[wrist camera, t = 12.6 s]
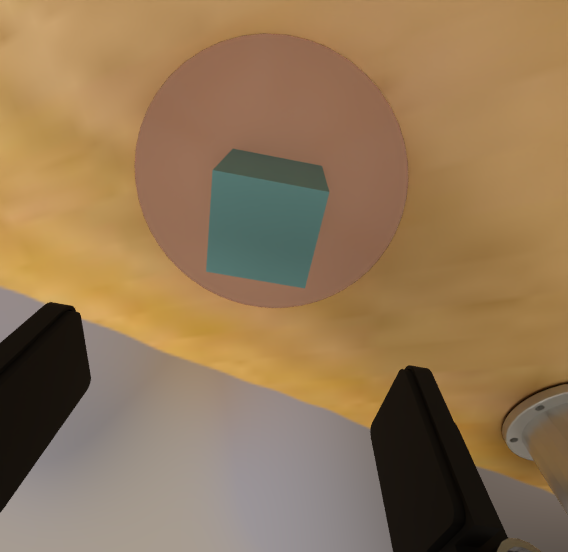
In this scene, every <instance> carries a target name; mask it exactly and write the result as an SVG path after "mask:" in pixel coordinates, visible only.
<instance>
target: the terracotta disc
mask: <svg viewBox="0 0 568 552" xmlns="http://www.w3.org/2000/svg"><path fill="white" fill-rule="evenodd" d="M232 149H238V150H243V151H248V152H253V153H258V154H263V155H269V156H274V157H279V158H284V159H289V160H294V161H300V162H305V163H310V164H315V165H320V166H322V168H323V171H324V175H325V178H326V182H327V185H328V189H329V196H328V200H327V204H326V208H325V212H324V216H323V220H322V224H321V227H320V231H319V235H318V239H317V243H316V247H315V251H314V255H313V259H312V263H311V267H310V271H309V275H308V279H307V283H306V287H305V288H299V287H293V286H287V285H281V284H276V283H270V282H264V281H258V280H252V279H246V278H240V277H234V276H229V275H223V274H217V273H211V272H206V265H207V249H208V234H209V218H210V202H211V187H212V171H213V169H214V168H215V167H216V166H217V165H218V164H219V163H220V162H221V161H222V160H223V158H224V157H225V156H226V155H227V154H228V153H229V152H230V151H231V150H232ZM135 180H136V187H137V193H138V198H139V202H140V205H141V209H142V212H143V215H144V218H145V220H146V222H147V224H148V226H149V229H150V231H151V233H152V234H153V236H154V238H155V239H156V241H157V243H158V244H159V246H160V247H161V249H162V250H163V251H164V252H165V254H166V255H167V256H168V258H169V259H170V260H171V261H172V262H173V263H174V264H175V265H176V266H177V267H178V268H179V269H180V270H181V271H182V272H183V273H184V274H186V275H187V276H188V277H189V278H190V279H192V280H193V281H195V282H196V283H197V284H199V285H200V286H202V287H203V288H205V289H207V290H209V291H211V292H213V293H215V294H217V295H219V296H221V297H224V298H226V299H229V300H231V301H235V302H238V303H242V304H245V305H251V306H257V307H268V308H283V307H294V306H301V305H305V304H309V303H313V302H317V301H319V300H322V299H325V298H327V297H330V296H332V295H334V294H336V293H338V292H340V291H342V290H344V289H345V288H347V287H348V286H350V285H351V284H353V283H354V282H356V281H357V280H358V279H359V278H360V277H362V276H363V275H364V274H365V273H366V272H367V271H368V270H369V269H370V268H371V267H372V266H373V265H374V264H375V263H376V262H377V261H378V260H379V258H380V257H381V255H382V254H383V253H384V251H385V250H386V248H387V247H388V245H389V244H390V242H391V240H392V238H393V236H394V234H395V233H396V230H397V228H398V225H399V223H400V220H401V218H402V214H403V210H404V206H405V202H406V197H407V188H408V160H407V154H406V148H405V143H404V139H403V136H402V133H401V129H400V126H399V124H398V121H397V119H396V117H395V115H394V113H393V111H392V109H391V107H390V105H389V103H388V102H387V100H386V99H385V97H384V96H383V94H382V93H381V91H380V90H379V89H378V87H377V86H376V85H375V84H374V83H373V82H372V81H371V80H370V78H369V77H368V76H367V75H366V74H365V73H364V72H363V71H362V70H360V69H359V68H358V67H357V66H355V65H354V64H353V63H352V62H351V61H349V60H348V59H347V58H345V57H343V56H342V55H340V54H338V53H336V52H335V51H333V50H331V49H330V48H328V47H325V46H323V45H320V44H318V43H315V42H313V41H310V40H307V39H303V38H298V37H294V36H289V35H280V34H256V35H246V36H240V37H236V38H233V39H229V40H226V41H222V42H220V43H217V44H215V45H213V46H211V47H209V48H206V49H204V50H202V51H201V52H199V53H198V54H196V55H195V56H193V57H192V58H190V59H189V60H187V61H186V62H184V63H183V64H182V65H181V66H180V67H179V68H178V69H177V70H176V71H175V72H174V73H172V74H171V75H170V76H169V78H168V79H167V80H166V81H165V83H164V84H163V85H162V86H161V88H160V89H159V90H158V92H157V93H156V95H155V97H154V98H153V100H152V102H151V104H150V106H149V107H148V109H147V112H146V114H145V117H144V119H143V122H142V125H141V127H140V132H139V136H138V141H137V145H136V155H135Z"/></svg>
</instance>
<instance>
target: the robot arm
mask: <svg viewBox="0 0 568 552" xmlns="http://www.w3.org/2000/svg"><path fill="white" fill-rule="evenodd" d="M90 381H91V376H90V369H89V363H88V357H87V351H86V345H85V339H84V332H83V326H82V320H81V315H80V313H79V312H76V310H75V308H74V307H73V306H70V305H64V304H58V303H53V302H50V303H47V304H45V305H44V306H43V307H42V308H41V309H39V310H38V311H37V312H36V313H35V314H34V315H32V316H31V317H30V318H29V319H28V320H27V321H25V322H24V323H23V324H22V325H21V326H20V327H18V329H16V330H15V331H14V332H13V333H11V334H10V335H9V336H8V337H7V338H6V339H4V340H3V341H2V342H1V343H0V512H1V511H2V510H3V508H4V507H5V506H6V504H7V503H8V501H9V500H10V499H11V497H12V496H13V494H14V493H15V491H16V490H17V489H18V487H19V486H20V485H21V483H22V482H23V480H24V478H25V477H26V476H27V474H28V473H29V472H30V470H31V469H32V467H33V466H34V464H35V463H36V462H37V460H38V459H39V457H40V456H41V455H42V453H43V452H44V450H45V449H46V448H47V446H48V445H49V443H50V442H51V440H52V439H53V438H54V436H55V434H56V433H57V432H58V430H59V429H60V428H61V426H62V425H63V423H64V422H65V421H66V419H67V418H68V416H69V415H70V413H71V412H72V410H73V409H74V408H75V406H76V405H77V403H78V402H79V401H80V399H81V398H82V396H83V395H84V394H85V392H86V391H87V389H88V387H89V384H90ZM370 432H371V440H372V445H373V450H374V456H375V461H376V466H377V471H378V476H379V481H380V486H381V491H382V497H383V502H384V507H385V512H386V517H387V522H388V527H389V533H390V537H391V543H392V548H393V552H541V551H540V550H539V549H537V548H535V547H534V546H533V545H531V544H530V543H528V542H525V541H523V540H520V539H513V538H508V537H507V535H506V533H505V530H504V528H503V526H502V524H501V522H500V520H499V517H498V515H497V513H496V511H495V508H494V506H493V504H492V502H491V500H490V498H489V495H488V493H487V491H486V488H485V486H484V484H483V482H482V480H481V477H480V475H479V473H478V471H477V469H476V466H475V464H474V462H473V460H472V458H471V455H470V453H469V451H468V449H467V447H466V444H465V442H464V440H463V438H462V436H461V433H460V431H459V429H458V427H457V425H456V424H455V423H454V421H453V419H452V417H451V414H450V412H449V410H448V408H447V405H446V403H445V401H444V399H443V396H442V394H441V392H440V390H439V388H438V385H437V383H436V381H435V379H434V376H433V374H432V372H431V371H430V370H429V369H427V368H422V367H416V366H410V365H409V366H407V367H406V368H405V370H404V369H401V370H400V371H399V373H398V375H397V377H396V378H395V380H394V382H393V384H392V386H391V388H390V390H389V392H388V394H387V396H386V398H385V399H384V401H383V403H382V405H381V407H380V409H379V411H378V413H377V415H376V417H375V419H374V421H373V422H372V425H371V431H370ZM502 435H503V439H504V440H505V442H506V444H507V446H508V447H509V449H510V450H511V451H512V452H513V453H515V454H516V455H518V456H520V457H522V458H525V459H528V460H532V461H534V462H535V463H536V465H537V467H538V468H539V470H540V471H541V473H542V475H543V476H544V478H545V479H546V481H547V483H548V484H549V486H550V488H551V489H552V491H553V492H554V494H555V496H556V497H557V499H558V500H559V502H560V504H561V505H562V507H563V508H564V510H565V512H566V513H567V515H568V384H564V385H560V386H556V387H553V388H549V389H547V390H544V391H542V392H539V393H537V394H535V395H533V396H531V397H529V398H527V399H526V400H525V401H523V402H522V403H520V404H519V405H518V406H516V407H515V408H514V409H513V410H512V411H511V412H510V414H509V415H508V416H507V418H506V419H505V421H504V424H503V427H502Z"/></svg>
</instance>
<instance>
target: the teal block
mask: <svg viewBox="0 0 568 552" xmlns="http://www.w3.org/2000/svg"><path fill="white" fill-rule="evenodd" d="M328 196H329V189H328V185H327V182H326V178H325V175H324V171H323V168H322V166H320V165H315V164H310V163H305V162H300V161H294V160H289V159H284V158H279V157H274V156H269V155H263V154H258V153H253V152H248V151H243V150H238V149H232V150H231V151H230V152H229V153H228V154H227V155H226V156H225V157H224V158H223V160H222V161H221V162H220V163H219V164H218V165H217V166H216V167H215V168H214V169H213V171H212V187H211V202H210V218H209V234H208V249H207V265H206V272H211V273H217V274H223V275H229V276H234V277H240V278H246V279H252V280H258V281H264V282H270V283H276V284H281V285H287V286H293V287H299V288H305V287H306V283H307V279H308V275H309V271H310V267H311V263H312V259H313V255H314V251H315V247H316V243H317V239H318V235H319V231H320V227H321V224H322V220H323V216H324V212H325V208H326V204H327V200H328Z"/></svg>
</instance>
